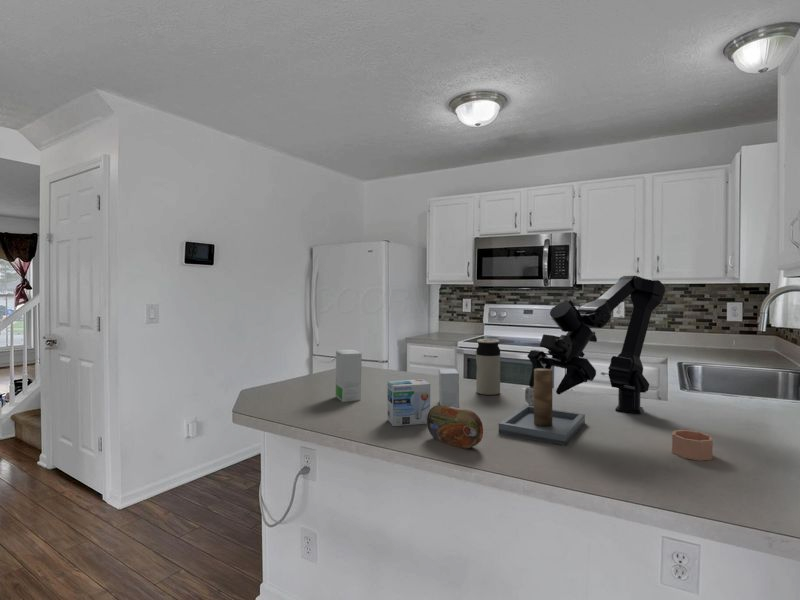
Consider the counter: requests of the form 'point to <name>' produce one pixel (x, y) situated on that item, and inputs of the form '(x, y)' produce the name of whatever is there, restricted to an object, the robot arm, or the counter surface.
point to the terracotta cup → (692, 445)
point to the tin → (455, 426)
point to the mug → (529, 395)
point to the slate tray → (558, 433)
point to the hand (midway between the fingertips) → (543, 389)
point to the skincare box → (348, 375)
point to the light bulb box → (408, 402)
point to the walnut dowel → (543, 397)
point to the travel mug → (488, 367)
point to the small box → (449, 387)
